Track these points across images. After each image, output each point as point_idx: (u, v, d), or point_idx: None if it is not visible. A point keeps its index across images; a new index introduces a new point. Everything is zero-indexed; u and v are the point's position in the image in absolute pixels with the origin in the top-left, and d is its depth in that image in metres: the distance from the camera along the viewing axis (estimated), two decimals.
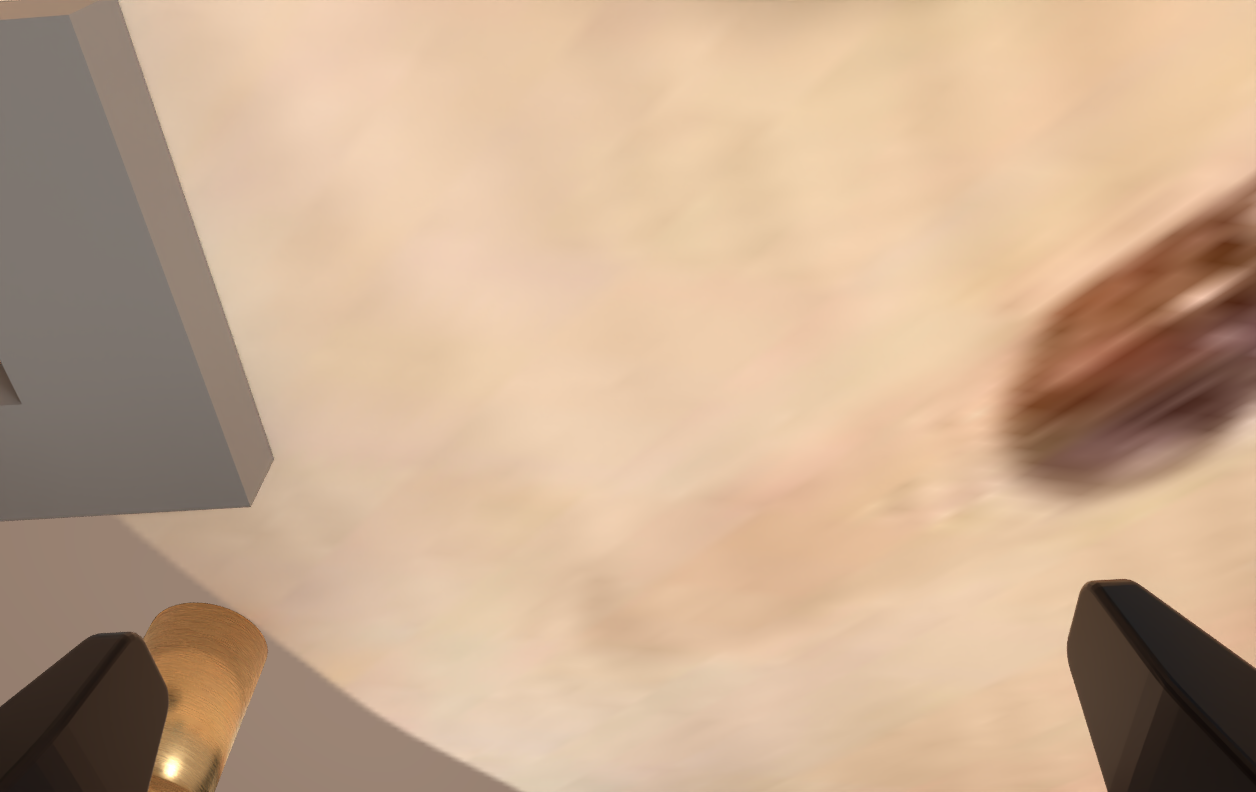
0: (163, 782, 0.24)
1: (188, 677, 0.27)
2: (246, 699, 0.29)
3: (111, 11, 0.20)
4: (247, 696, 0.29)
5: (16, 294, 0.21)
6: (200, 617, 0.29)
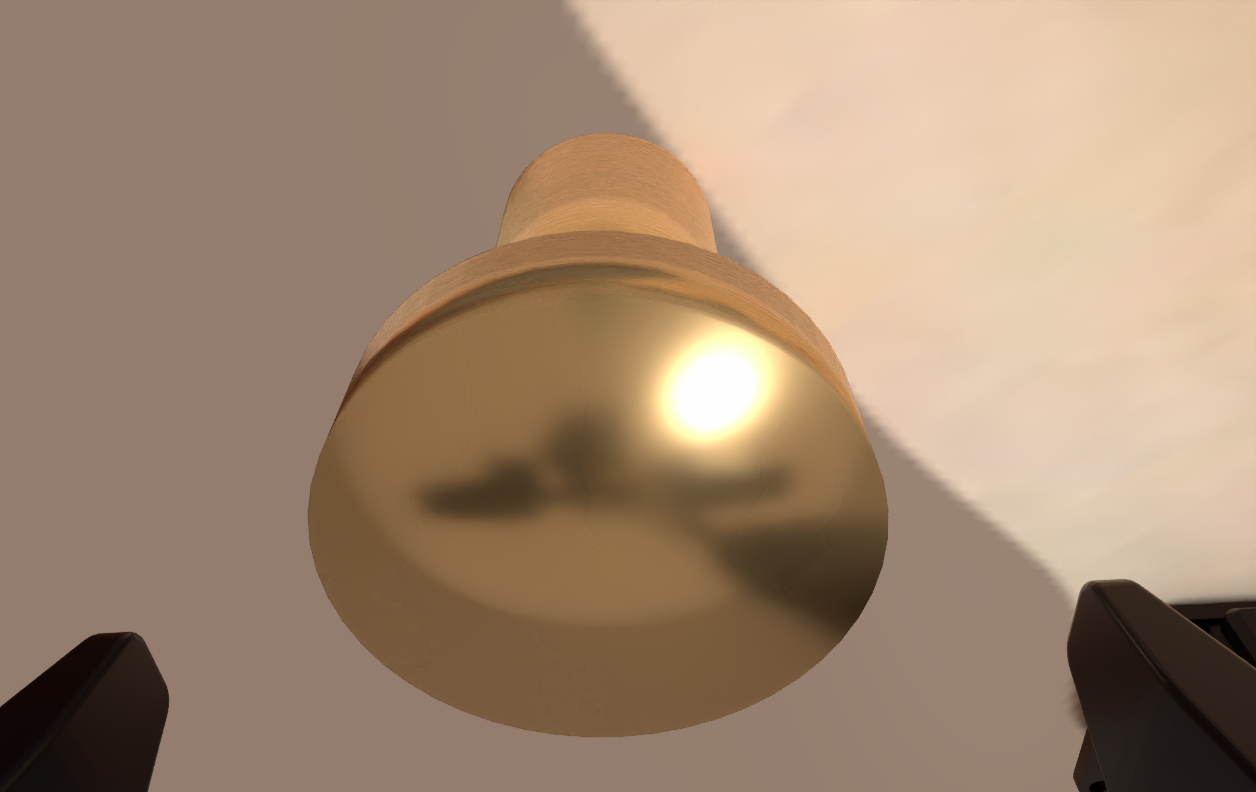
0: (772, 287, 0.10)
1: (658, 209, 0.14)
2: None
3: None
4: None
5: None
6: (629, 147, 0.15)
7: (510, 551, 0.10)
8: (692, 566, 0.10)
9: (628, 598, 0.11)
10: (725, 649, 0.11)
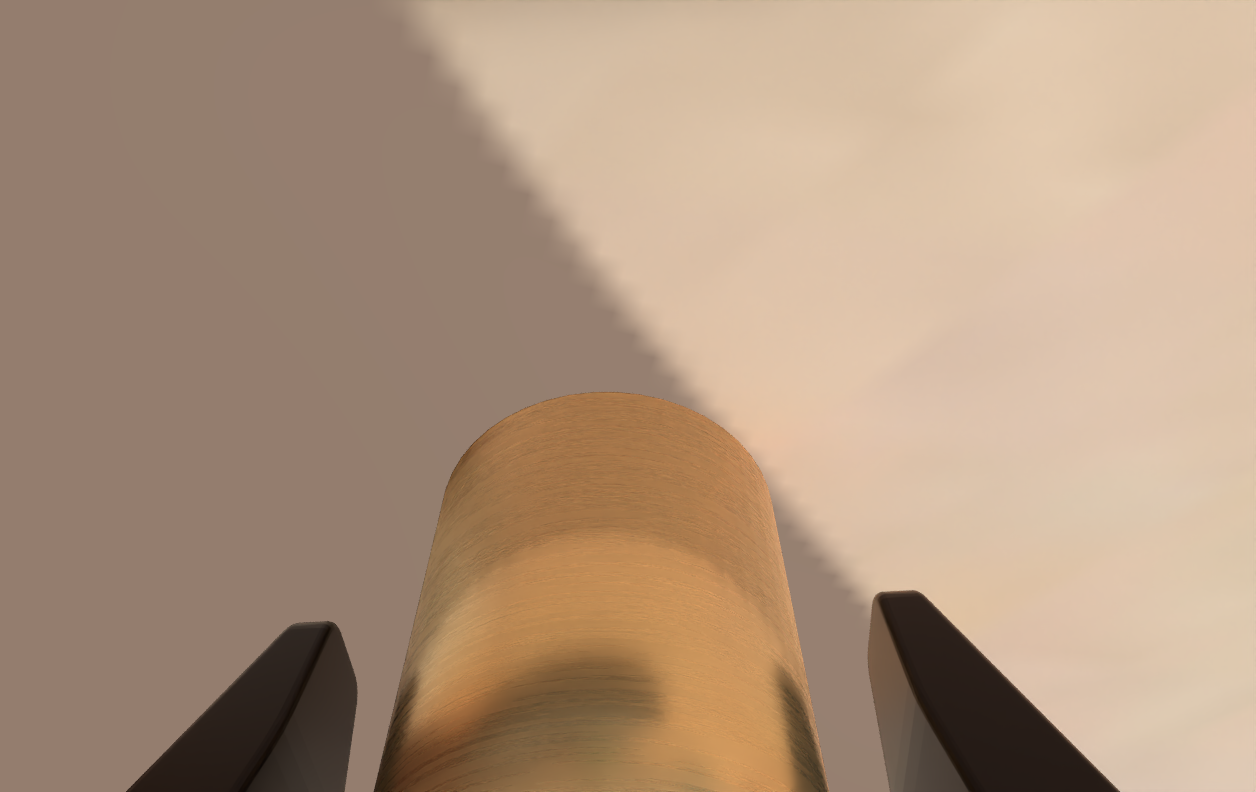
0: None
1: (700, 604, 0.07)
2: None
3: None
4: None
5: None
6: (644, 427, 0.09)
7: None
8: None
9: None
10: None
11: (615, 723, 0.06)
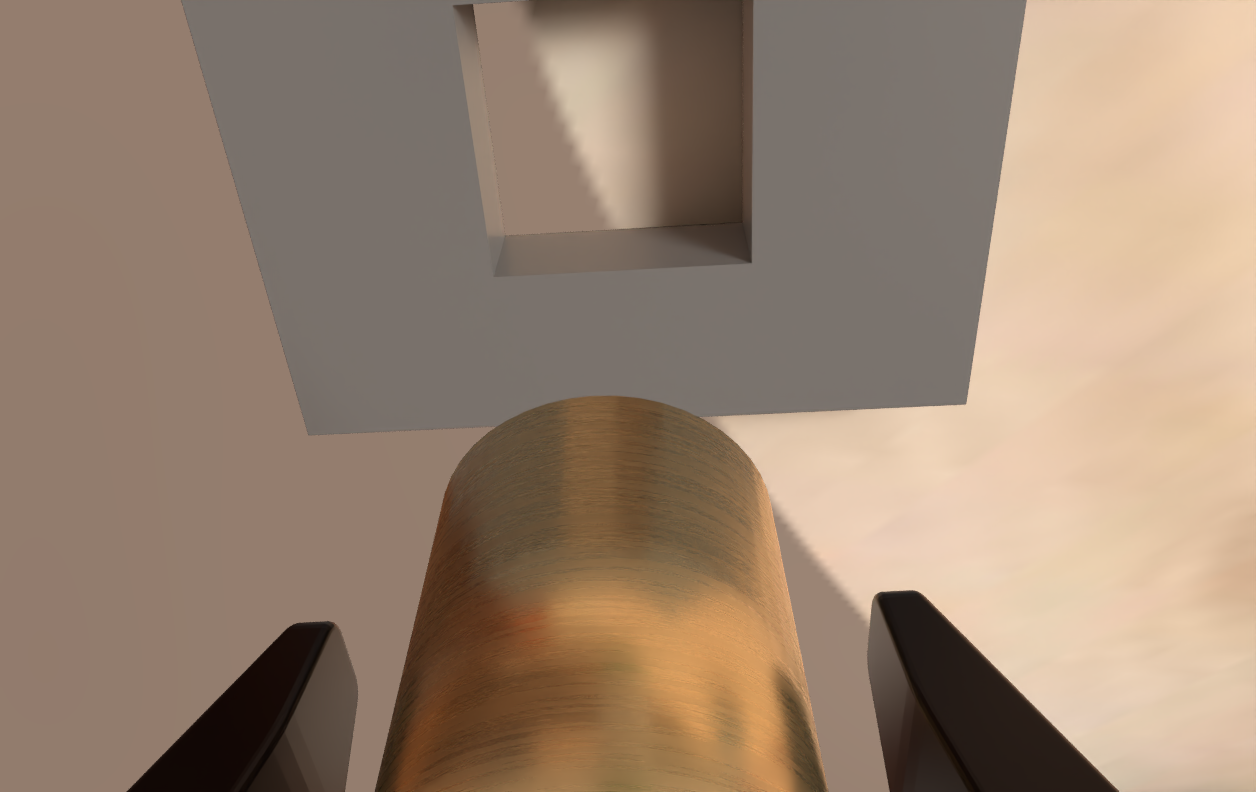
0: None
1: (702, 608, 0.07)
2: None
3: None
4: None
5: (814, 111, 0.17)
6: (643, 431, 0.09)
7: None
8: None
9: None
10: None
11: (617, 728, 0.06)
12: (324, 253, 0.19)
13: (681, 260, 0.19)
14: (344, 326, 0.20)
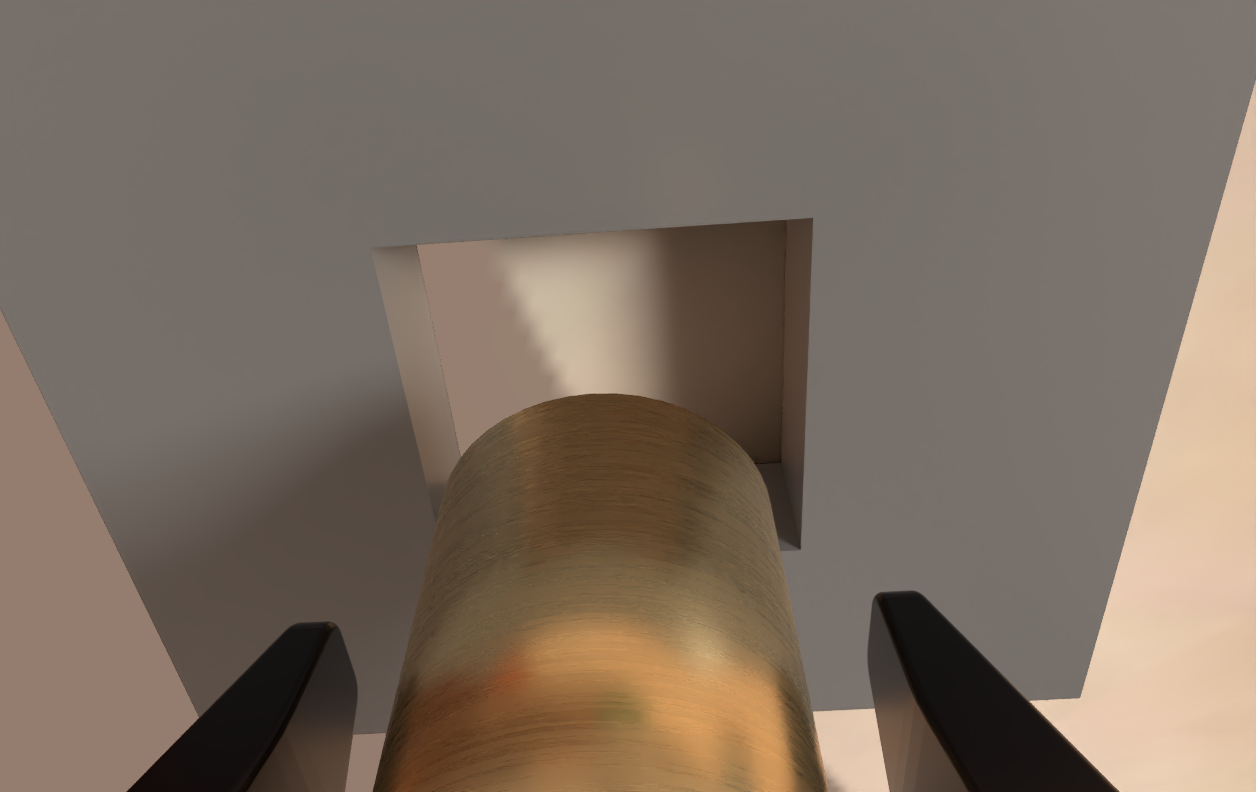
0: None
1: (701, 606, 0.07)
2: None
3: None
4: None
5: (895, 373, 0.12)
6: (643, 428, 0.09)
7: None
8: None
9: None
10: None
11: (615, 726, 0.06)
12: (212, 545, 0.14)
13: None
14: (247, 625, 0.14)
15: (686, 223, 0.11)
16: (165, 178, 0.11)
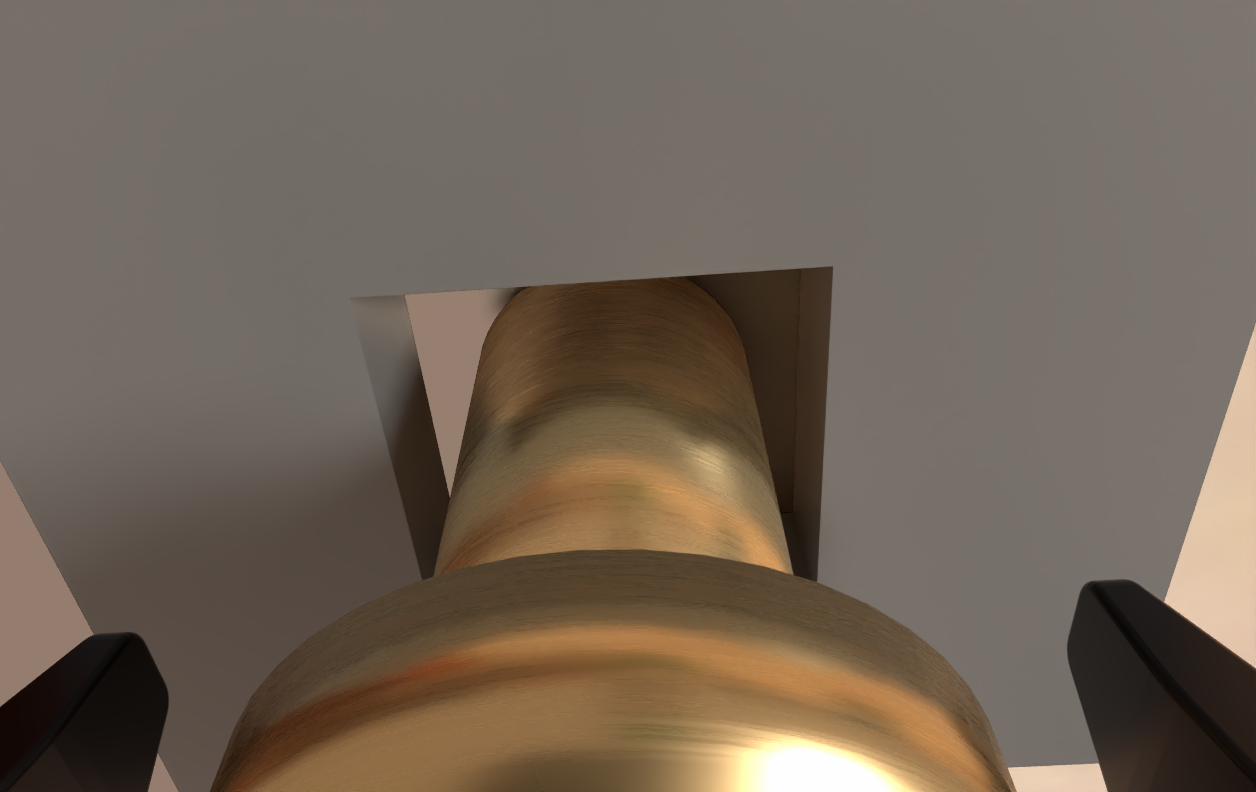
0: (890, 625, 0.06)
1: (688, 392, 0.10)
2: None
3: None
4: None
5: (920, 430, 0.11)
6: (643, 283, 0.12)
7: None
8: None
9: None
10: None
11: (625, 453, 0.09)
12: (183, 608, 0.13)
13: None
14: (223, 689, 0.13)
15: (694, 271, 0.10)
16: (124, 225, 0.10)
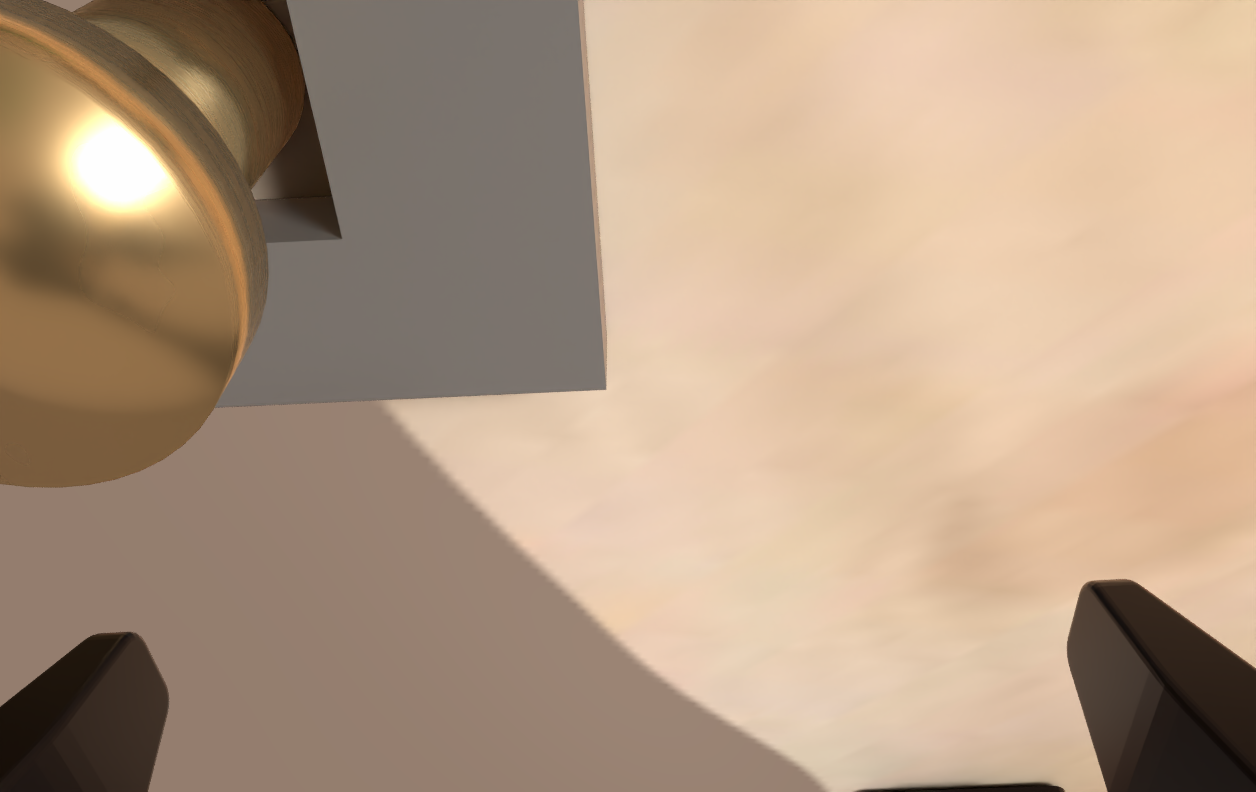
0: (115, 41, 0.11)
1: (169, 20, 0.15)
2: (273, 122, 0.16)
3: None
4: (274, 120, 0.16)
5: (371, 74, 0.16)
6: None
7: None
8: (53, 302, 0.11)
9: (7, 335, 0.12)
10: (120, 393, 0.12)
11: None
12: None
13: (272, 235, 0.18)
14: None
15: None
16: None
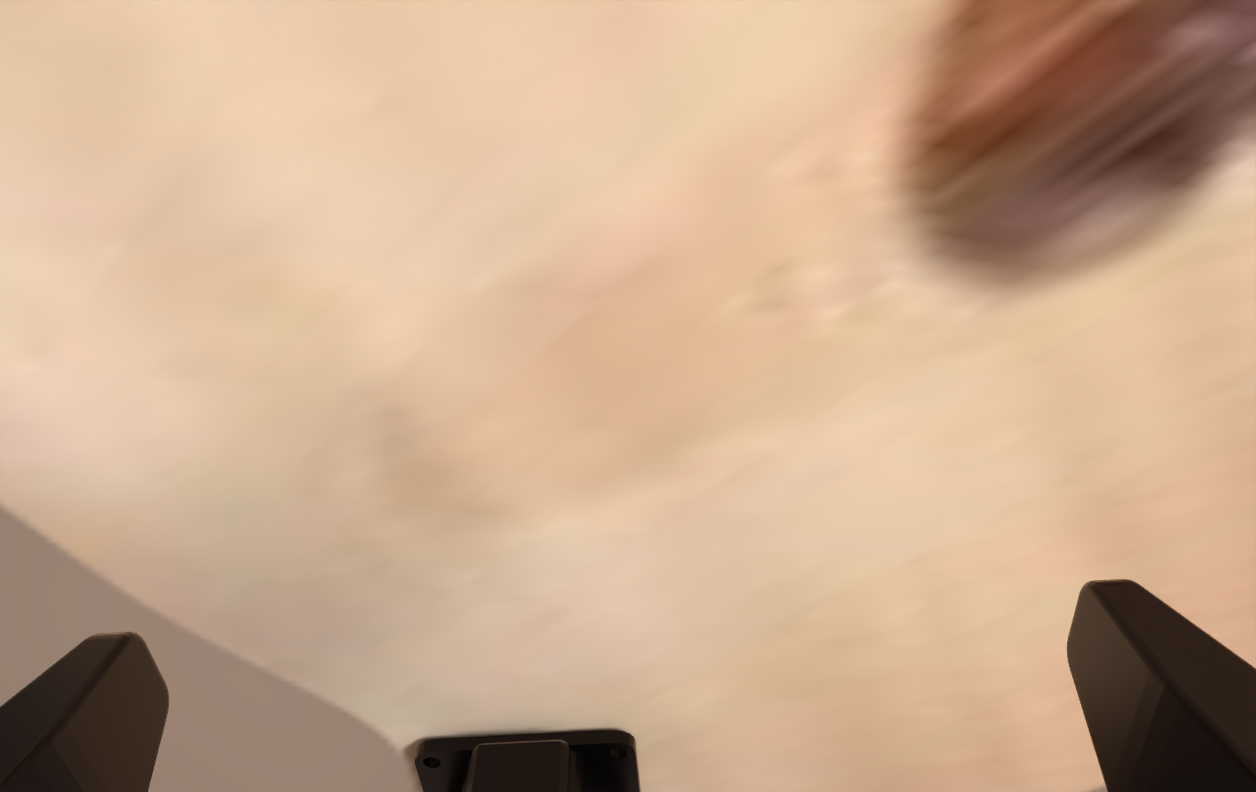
0: None
1: None
2: None
3: None
4: None
5: None
6: None
7: None
8: None
9: None
10: None
11: None
12: None
13: None
14: None
15: None
16: None
